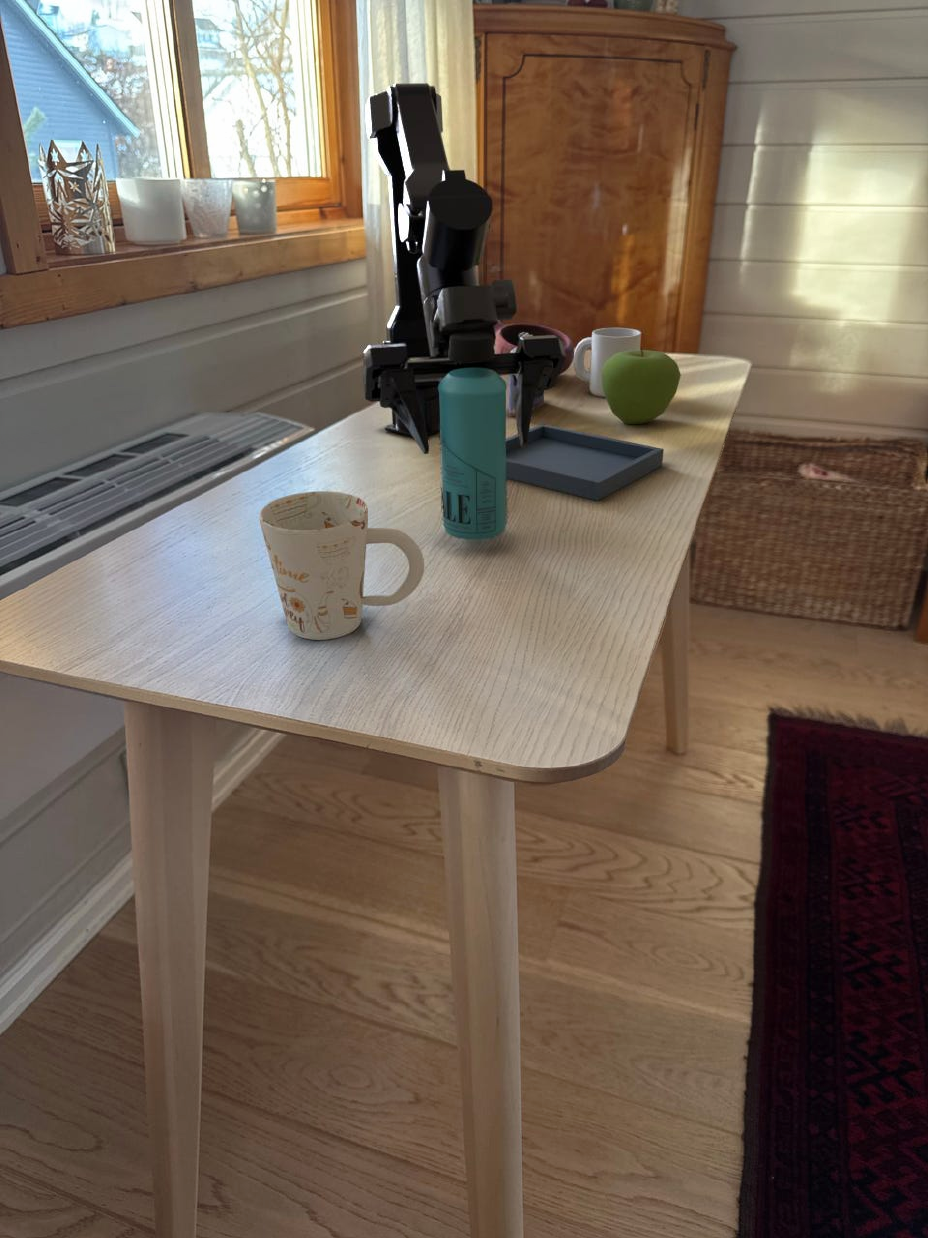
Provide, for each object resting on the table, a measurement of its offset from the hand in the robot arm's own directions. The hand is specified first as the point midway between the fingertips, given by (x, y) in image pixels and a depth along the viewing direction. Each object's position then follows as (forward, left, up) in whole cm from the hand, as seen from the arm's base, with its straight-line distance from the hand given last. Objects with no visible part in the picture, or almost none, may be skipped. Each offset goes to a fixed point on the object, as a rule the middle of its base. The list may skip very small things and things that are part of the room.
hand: (476, 448), depth 83 cm
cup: (-21, +58, -10) cm, 62 cm away
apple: (-9, +47, -10) cm, 49 cm away
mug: (+1, -18, -10) cm, 21 cm away
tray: (-6, +25, -10) cm, 27 cm away
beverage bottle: (-1, +1, -10) cm, 10 cm away
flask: (-25, +43, -10) cm, 50 cm away
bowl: (-36, +58, -10) cm, 69 cm away
